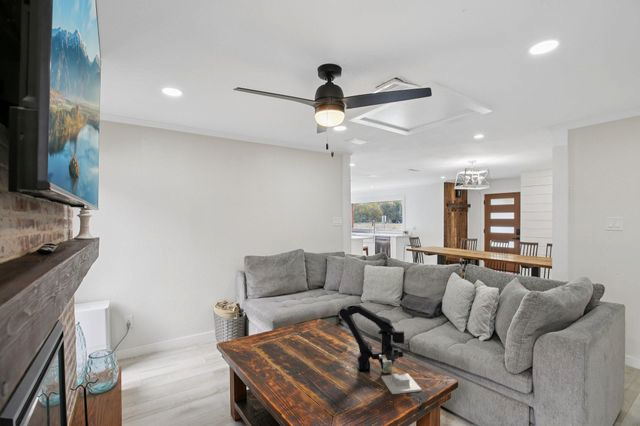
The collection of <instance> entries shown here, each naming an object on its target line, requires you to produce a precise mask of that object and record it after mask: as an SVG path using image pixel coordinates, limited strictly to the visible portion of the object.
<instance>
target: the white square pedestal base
mask: <svg viewBox="0 0 640 426" xmlns="http://www.w3.org/2000/svg"><path fill="white" fill-rule="evenodd" d="M381 379H382V381H383V383H384V384H385V385H386V386H387V388H388V390H389V391H390V394H392V395H397V394H405V393H407V394H408V393H416V392H421V391H422V388H421V387H420V385H418V383H417V382H416V381H415V380H414V378H413V377H412V376H411V375H410V374H409V373H404V372H401V373H400V372H399V373H392V374H390V375H389V374H388V375H381Z"/></svg>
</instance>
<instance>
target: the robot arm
mask: <svg viewBox="0 0 640 426" xmlns="http://www.w3.org/2000/svg"><path fill="white" fill-rule="evenodd" d="M355 314H359V315H360V316H362V317H364V318H365V319H367V320H369V321H371V322H372V323H374V324H375V325H376V326H377V327H378V329H379V330H378V332H377V334H378V335H380V337H381V341H380V347H381V348H380V352H378V350H373V346H372V345H371V342H370V341H366V340H365V339H364V337H363V335H362V332H361V331H360V330H359V326H358V325H357V324H356V322H355V320H354V319H353V315H355ZM338 315H339V317H340V318H341V320H343V322H345V324H347V327H348V329H349V330H350V332H351V334H352V336H353V337H354V339H355V341H356V343H357V345H358V348H359V353H358V356H357V366H356V368H357V370H358V372H359V373H368V372H371V361H370V358H371V359H372V360H377V361H378V362H379V365H380V369H381V368H382V369H383V362H382V361H383V357H385V358H386V359H387V360H391V361H392V367H393V366H394V362H395V361H396V360H397V359H399V358H404V352H403V350H401V348H393V345H392V344H401V345H405V342H406V341H405V331H404V330H400V331H399V330H396V329H395V327H394V326H393V325H392V321H391V320H390V319H389V318H387V317H384V316H380V315H378V314H375V313H374V312H372V311H371V310H369V309H367V308H366V307H364V306H362V305H360V304H359V303H358V304H354V305H343V306H342V307H341V308H340V310H339V311H338ZM392 342H393V343H392Z"/></svg>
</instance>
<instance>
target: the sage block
mask: <svg viewBox="0 0 640 426" xmlns="http://www.w3.org/2000/svg"><path fill="white" fill-rule="evenodd" d="M382 359H383V361H382V362H383V369H382V368H381V367H380V370H381V371H382V373H383V374H389V373H393V366H392V361H391V360H387V359H386V357H384V358H383V357H382Z"/></svg>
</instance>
